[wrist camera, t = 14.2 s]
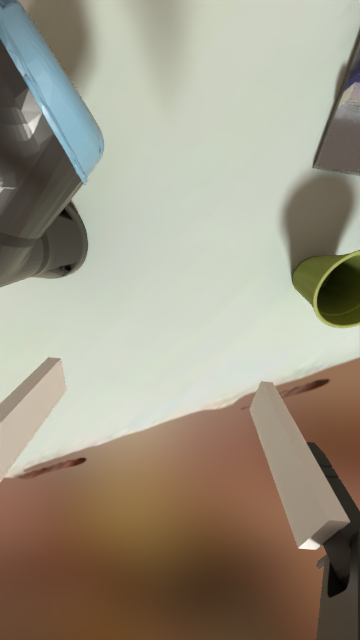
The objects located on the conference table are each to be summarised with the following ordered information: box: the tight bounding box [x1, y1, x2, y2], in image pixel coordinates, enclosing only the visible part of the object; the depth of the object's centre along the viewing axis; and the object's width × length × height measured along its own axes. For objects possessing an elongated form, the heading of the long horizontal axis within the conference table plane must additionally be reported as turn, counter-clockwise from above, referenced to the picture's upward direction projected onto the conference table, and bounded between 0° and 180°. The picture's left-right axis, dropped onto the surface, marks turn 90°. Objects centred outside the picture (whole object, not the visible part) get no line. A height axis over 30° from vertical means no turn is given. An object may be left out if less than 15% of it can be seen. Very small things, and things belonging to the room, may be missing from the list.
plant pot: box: [292, 250, 360, 328], centre depth 32 cm, size 12×12×11 cm
